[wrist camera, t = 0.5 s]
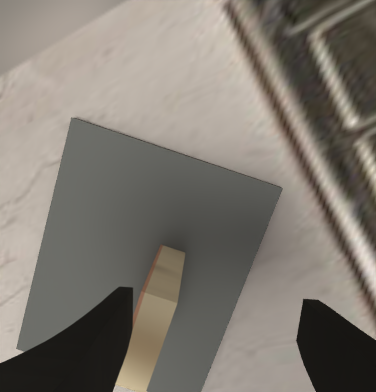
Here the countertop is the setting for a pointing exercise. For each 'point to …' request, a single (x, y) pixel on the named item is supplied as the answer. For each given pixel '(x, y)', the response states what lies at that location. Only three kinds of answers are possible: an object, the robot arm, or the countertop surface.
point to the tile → (152, 319)
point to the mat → (146, 243)
